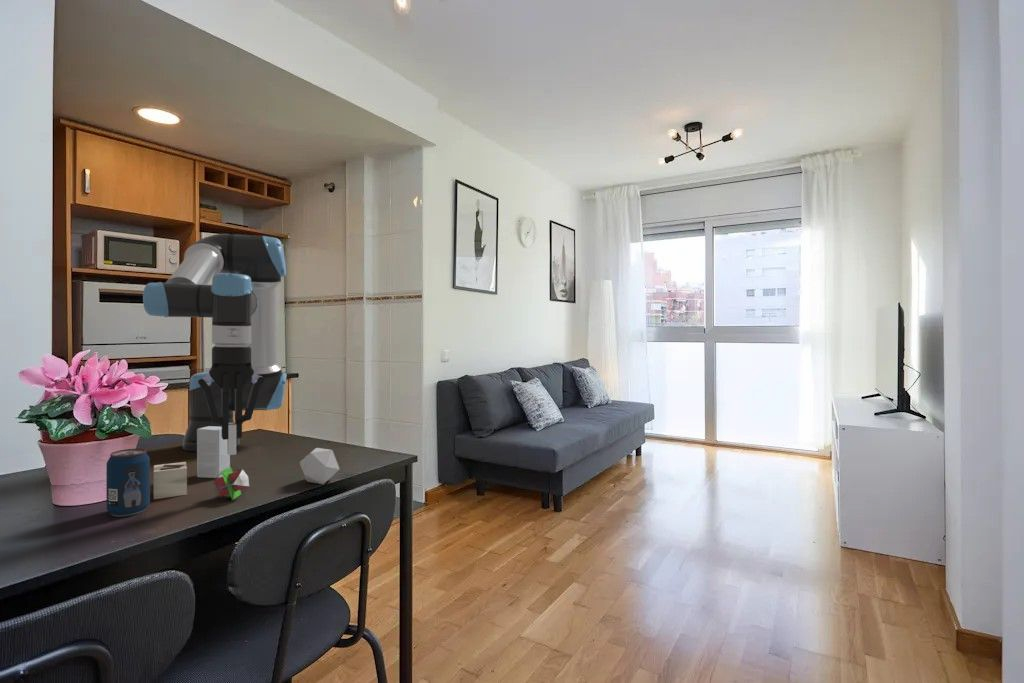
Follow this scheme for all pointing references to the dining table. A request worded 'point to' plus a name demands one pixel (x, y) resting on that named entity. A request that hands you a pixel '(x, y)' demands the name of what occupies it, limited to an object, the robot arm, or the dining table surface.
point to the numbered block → (170, 480)
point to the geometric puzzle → (231, 482)
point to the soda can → (128, 482)
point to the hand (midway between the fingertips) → (231, 453)
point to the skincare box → (211, 452)
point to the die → (319, 465)
